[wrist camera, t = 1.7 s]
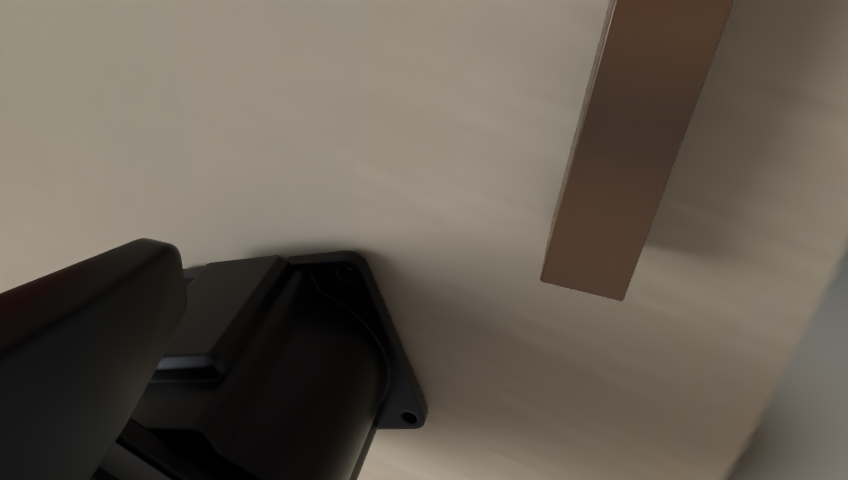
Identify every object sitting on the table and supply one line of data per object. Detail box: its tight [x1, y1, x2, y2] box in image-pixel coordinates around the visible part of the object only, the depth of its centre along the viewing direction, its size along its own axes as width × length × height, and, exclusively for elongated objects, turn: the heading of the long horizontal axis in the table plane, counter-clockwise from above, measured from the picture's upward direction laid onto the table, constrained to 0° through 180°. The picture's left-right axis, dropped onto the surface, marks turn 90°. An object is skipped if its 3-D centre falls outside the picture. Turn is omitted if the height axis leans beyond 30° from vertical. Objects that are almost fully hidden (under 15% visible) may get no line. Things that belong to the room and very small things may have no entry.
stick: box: [540, 0, 734, 301], centre depth 14 cm, size 7×2×2 cm, turn 174°
